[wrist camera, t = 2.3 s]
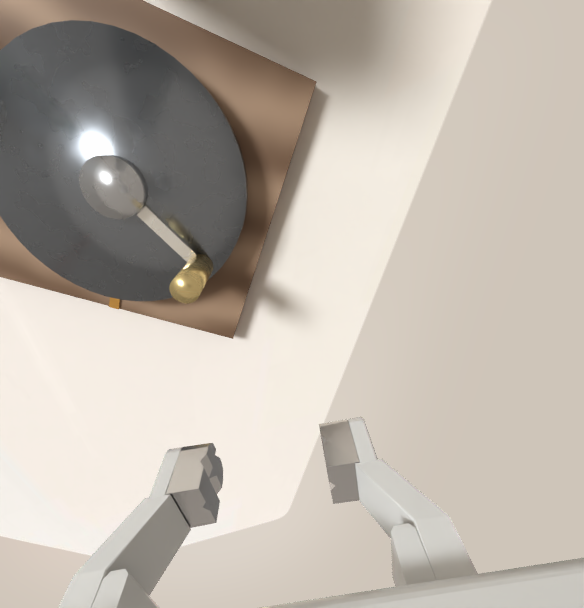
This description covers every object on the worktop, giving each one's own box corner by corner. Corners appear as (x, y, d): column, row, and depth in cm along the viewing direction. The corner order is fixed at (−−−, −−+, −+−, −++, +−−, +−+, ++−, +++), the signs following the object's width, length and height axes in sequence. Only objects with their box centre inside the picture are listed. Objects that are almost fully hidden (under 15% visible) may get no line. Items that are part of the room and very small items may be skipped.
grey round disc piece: (-56, 169, 26) (-180, 174, 19) (94, -53, 21) (1, -162, 14) (148, 329, 34) (116, 374, 27) (294, 199, 29) (302, 213, 22)
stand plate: (-36, -78, 21) (-60, -96, 20) (314, 85, 27) (316, 81, 25) (-12, 265, 32) (-27, 270, 30) (234, 332, 37) (232, 339, 36)
